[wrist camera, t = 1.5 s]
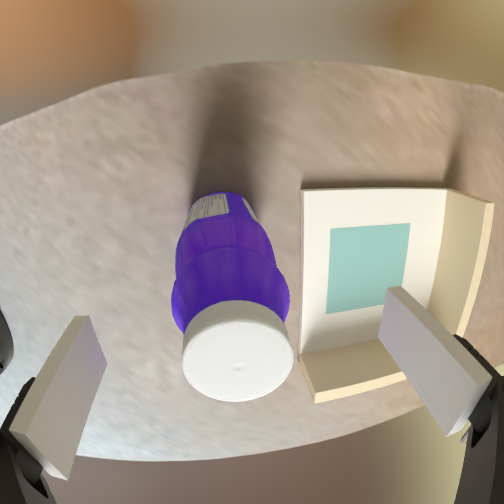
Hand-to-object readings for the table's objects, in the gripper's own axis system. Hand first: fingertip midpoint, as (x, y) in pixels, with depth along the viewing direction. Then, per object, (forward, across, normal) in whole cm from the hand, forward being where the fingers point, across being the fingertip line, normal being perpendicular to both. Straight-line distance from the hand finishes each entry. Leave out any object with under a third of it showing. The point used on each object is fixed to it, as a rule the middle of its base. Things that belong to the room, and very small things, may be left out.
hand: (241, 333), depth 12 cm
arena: (+15, +16, -6) cm, 23 cm away
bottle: (+15, 0, 0) cm, 15 cm away
